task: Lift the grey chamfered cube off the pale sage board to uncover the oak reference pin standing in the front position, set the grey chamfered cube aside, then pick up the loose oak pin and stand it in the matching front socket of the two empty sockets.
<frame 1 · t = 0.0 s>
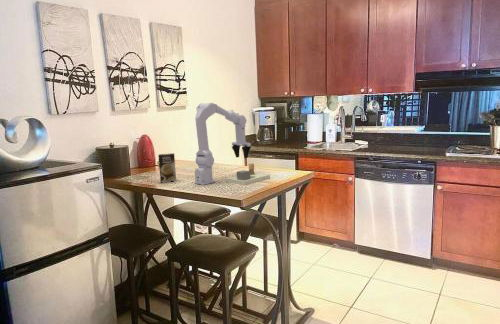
hand: (241, 157, 228), 10 cm above the table, tool pointing down, fingers open, 7 cm apart
coffee box: (168, 181, 220), on the table
pin: (251, 174, 217), point 2 cm above the table, touching pin board
pin board: (248, 180, 211), on the table
grey chamfered cube: (243, 179, 204), point 2 cm above the table, touching pin board
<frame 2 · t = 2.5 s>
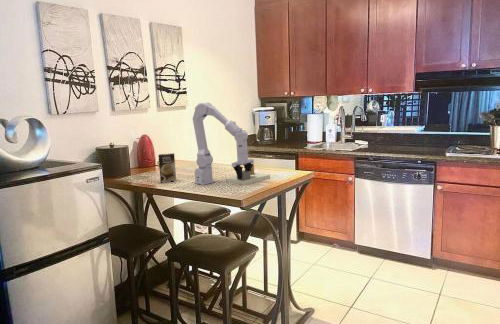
hand: (243, 177, 204), 3 cm above the table, tool pointing down, fingers closed on grey chamfered cube, 5 cm apart
grey chamfered cube: (243, 179, 204), point 2 cm above the table, touching gripper, pin board
everything else where it was.
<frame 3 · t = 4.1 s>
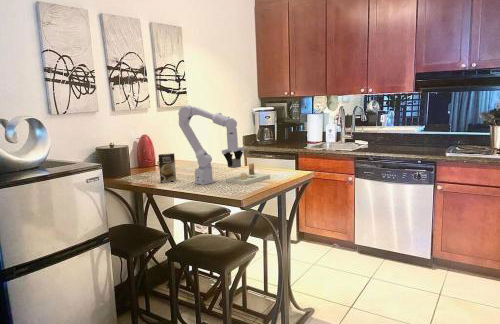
hand: (234, 165, 208), 9 cm above the table, tool pointing down, fingers closed on grey chamfered cube, 5 cm apart
grey chamfered cube: (234, 167, 207), point 8 cm above the table, touching gripper
everything else where it was.
when the fingers open (4 cm above the table, at t = 5.5 s): grey chamfered cube stays where it is, resting on pin board.
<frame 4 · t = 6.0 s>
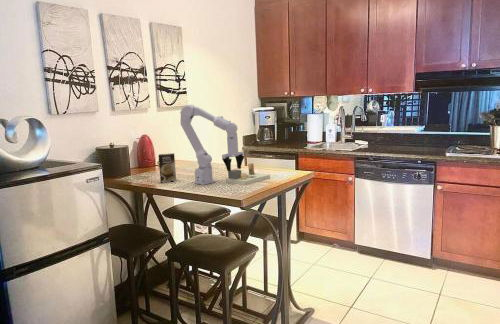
hand: (234, 169, 208), 7 cm above the table, tool pointing down, fingers open, 7 cm apart
grey chamfered cube: (235, 178, 208), point 2 cm above the table, touching pin board
everything else where it was.
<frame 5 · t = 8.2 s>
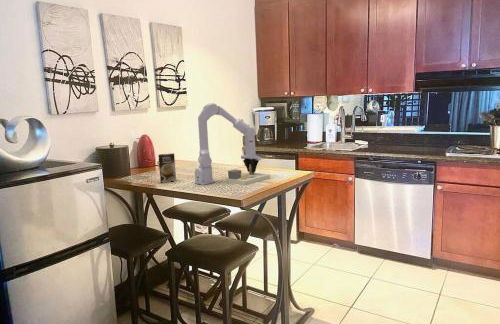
hand: (251, 171, 216), 3 cm above the table, tool pointing down, fingers closed on pin, 3 cm apart
pin: (251, 174, 217), point 2 cm above the table, touching gripper, pin board
everything else where it was.
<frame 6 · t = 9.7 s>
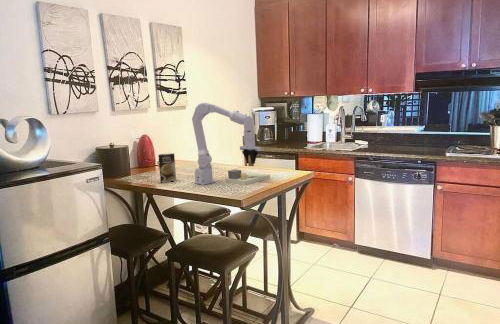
hand: (250, 163, 207), 10 cm above the table, tool pointing down, fingers closed on pin, 3 cm apart
pin: (251, 165, 207), point 8 cm above the table, touching gripper
everything else where it was.
when the fingers open (2 cm above the table, at t = 11.2 s): pin drops 1 cm, resting in pin board.
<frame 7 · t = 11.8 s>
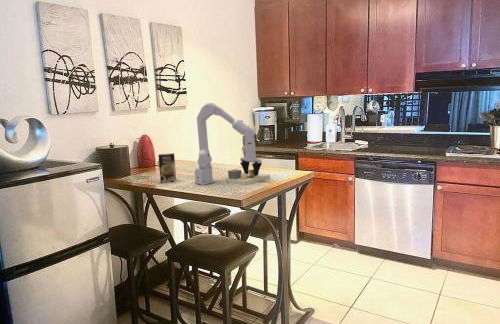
hand: (251, 175, 208), 3 cm above the table, tool pointing down, fingers open, 7 cm apart
pin: (252, 180, 209), resting in pin board
everything else where it was.
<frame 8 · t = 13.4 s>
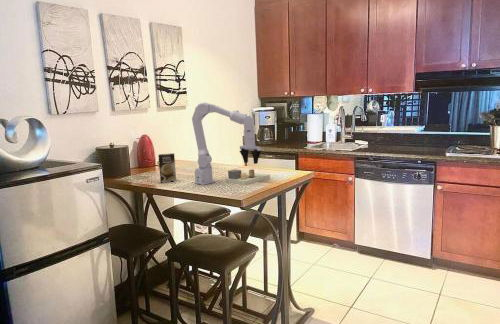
hand: (250, 163, 207), 10 cm above the table, tool pointing down, fingers open, 7 cm apart
nothing on the table moved.
at the end: pin 0.1 cm from the target spot on the pin board, point 0.0 cm above the pin board's base; pin tilted 0°; grey chamfered cube moved 6.6 cm from its start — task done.
